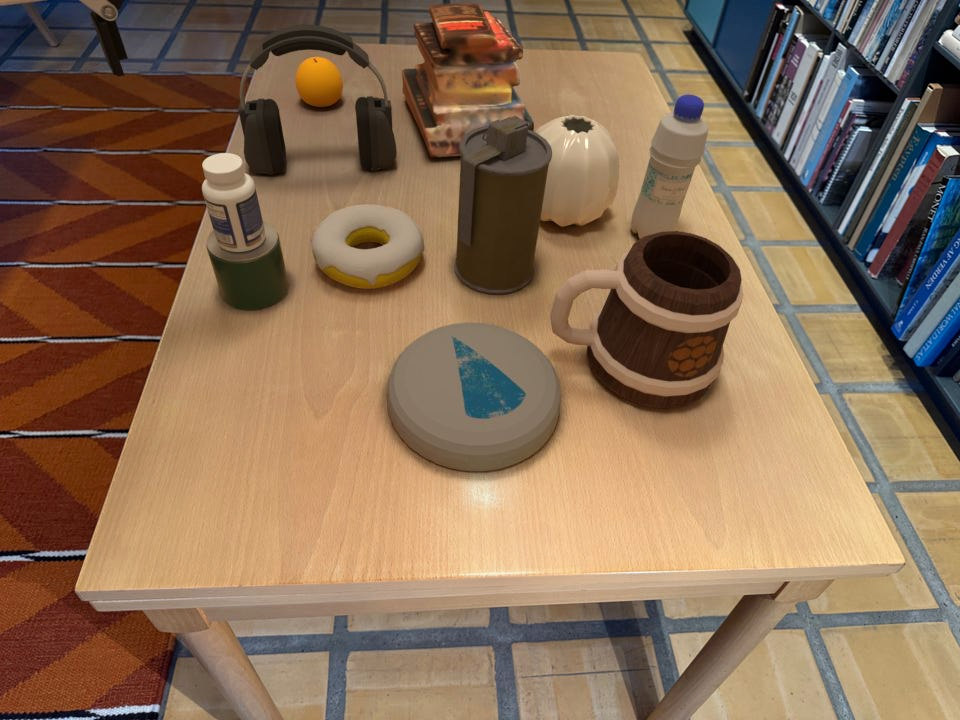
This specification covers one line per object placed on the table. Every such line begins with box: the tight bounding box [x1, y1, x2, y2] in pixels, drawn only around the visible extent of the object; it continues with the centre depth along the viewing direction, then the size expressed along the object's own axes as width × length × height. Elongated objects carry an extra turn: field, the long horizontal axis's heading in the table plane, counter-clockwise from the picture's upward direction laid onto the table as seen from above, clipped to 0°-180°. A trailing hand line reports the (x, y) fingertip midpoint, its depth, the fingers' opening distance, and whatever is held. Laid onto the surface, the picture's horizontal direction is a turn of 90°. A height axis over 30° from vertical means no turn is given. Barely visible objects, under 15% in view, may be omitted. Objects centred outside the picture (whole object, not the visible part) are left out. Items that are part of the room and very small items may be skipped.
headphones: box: [237, 23, 398, 176], centre depth 92 cm, size 22×6×20 cm, turn 100°
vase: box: [535, 114, 620, 228], centre depth 90 cm, size 14×14×13 cm
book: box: [401, 2, 535, 159], centre depth 104 cm, size 23×18×17 cm
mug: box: [549, 230, 744, 409], centre depth 69 cm, size 20×15×15 cm
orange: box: [294, 56, 344, 108], centre depth 110 cm, size 8×8×8 cm
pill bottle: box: [201, 152, 266, 252], centre depth 70 cm, size 5×5×10 cm
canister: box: [453, 116, 552, 295], centre depth 77 cm, size 11×10×20 cm
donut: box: [311, 203, 425, 290], centre depth 82 cm, size 14×14×5 cm
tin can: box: [206, 220, 290, 311], centre depth 77 cm, size 8×8×8 cm
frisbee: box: [386, 321, 562, 472], centre depth 68 cm, size 18×18×5 cm
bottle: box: [630, 93, 709, 240], centre depth 85 cm, size 7×7×20 cm
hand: (48, 80), depth 49 cm, fingers open, 9 cm apart
